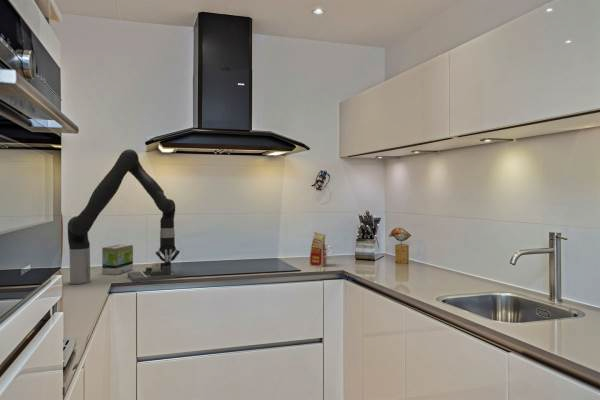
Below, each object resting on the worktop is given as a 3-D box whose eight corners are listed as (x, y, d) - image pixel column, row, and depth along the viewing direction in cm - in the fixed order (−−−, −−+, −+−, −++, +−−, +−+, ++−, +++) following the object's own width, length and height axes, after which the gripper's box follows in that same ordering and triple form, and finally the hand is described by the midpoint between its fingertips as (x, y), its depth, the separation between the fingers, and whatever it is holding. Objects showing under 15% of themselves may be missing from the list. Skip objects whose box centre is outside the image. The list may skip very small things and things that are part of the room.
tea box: (118, 274, 246) (117, 247, 246) (101, 274, 248) (101, 247, 248) (133, 269, 261) (133, 244, 260) (118, 269, 263) (117, 243, 262)
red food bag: (309, 266, 267) (308, 232, 266) (313, 263, 275) (313, 231, 275) (324, 267, 264) (323, 233, 263) (328, 264, 272) (328, 231, 272)
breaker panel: (133, 282, 226) (132, 270, 226) (127, 276, 242) (127, 265, 241) (177, 278, 236) (177, 266, 236) (169, 272, 252) (169, 261, 252)
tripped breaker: (152, 273, 237) (152, 264, 237) (151, 272, 240) (151, 263, 240) (160, 273, 239) (160, 263, 239) (159, 272, 242) (159, 262, 242)
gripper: (178, 235, 248) (178, 266, 249) (153, 236, 242) (153, 268, 243) (181, 236, 242) (181, 268, 242) (156, 237, 236) (156, 270, 236)
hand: (167, 268), depth 243 cm, fingers closed
